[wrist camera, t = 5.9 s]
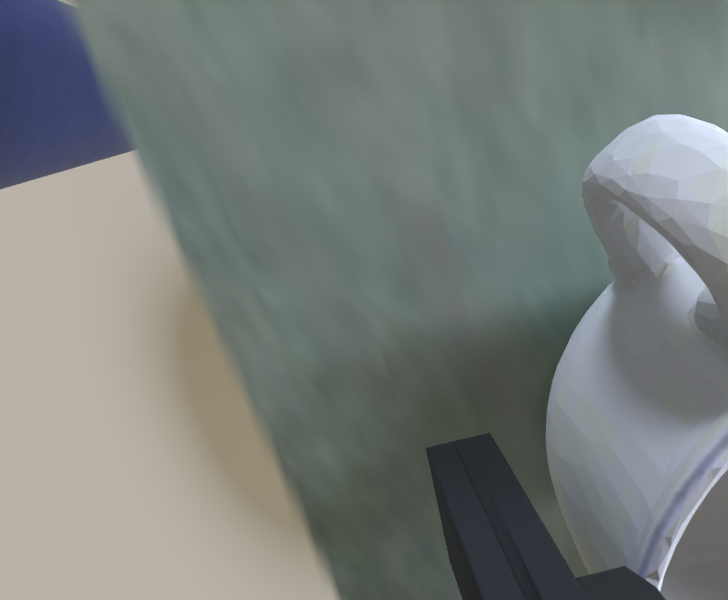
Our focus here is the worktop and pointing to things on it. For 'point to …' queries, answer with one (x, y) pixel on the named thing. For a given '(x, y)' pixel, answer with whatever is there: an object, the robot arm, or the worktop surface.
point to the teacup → (651, 366)
